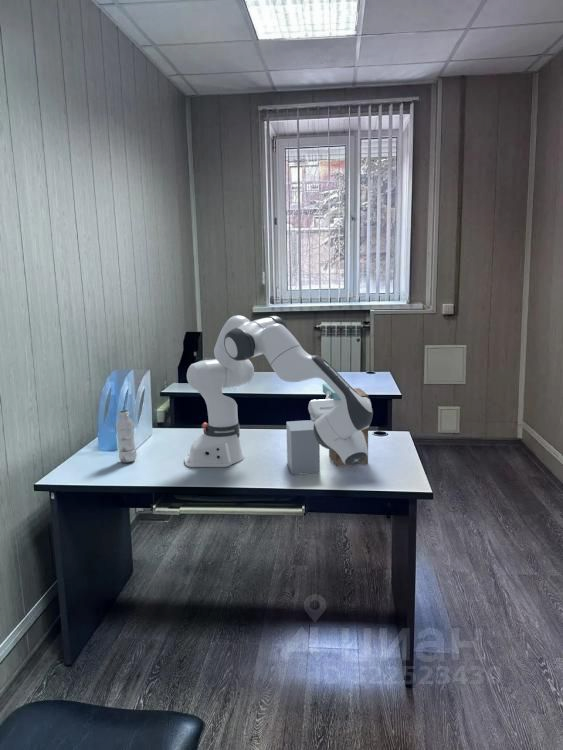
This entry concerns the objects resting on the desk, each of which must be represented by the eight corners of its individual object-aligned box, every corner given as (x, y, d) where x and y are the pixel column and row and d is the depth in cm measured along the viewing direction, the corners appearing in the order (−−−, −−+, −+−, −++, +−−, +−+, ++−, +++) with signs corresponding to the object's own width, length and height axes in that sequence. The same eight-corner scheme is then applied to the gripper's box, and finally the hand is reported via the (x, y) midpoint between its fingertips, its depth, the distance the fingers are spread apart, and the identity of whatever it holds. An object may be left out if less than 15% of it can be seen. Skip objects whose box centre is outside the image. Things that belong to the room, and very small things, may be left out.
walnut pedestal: (336, 466, 198) (335, 397, 193) (329, 455, 210) (328, 389, 205) (367, 464, 200) (368, 395, 195) (359, 453, 211) (359, 388, 206)
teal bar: (334, 402, 176) (333, 392, 175) (322, 392, 202) (322, 384, 201) (343, 401, 176) (342, 392, 176) (330, 391, 202) (330, 383, 201)
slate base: (291, 474, 191) (291, 431, 188) (287, 462, 203) (286, 421, 200) (319, 472, 193) (319, 429, 190) (313, 461, 204) (313, 420, 201)
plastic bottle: (140, 461, 209) (136, 410, 205) (124, 466, 204) (120, 414, 200) (131, 457, 213) (127, 408, 209) (115, 462, 208) (111, 411, 205)
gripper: (311, 430, 171) (303, 400, 182) (373, 427, 174) (363, 397, 185) (313, 416, 167) (305, 386, 178) (377, 413, 170) (365, 384, 181)
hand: (335, 392), depth 181 cm, fingers closed on teal bar, 3 cm apart
